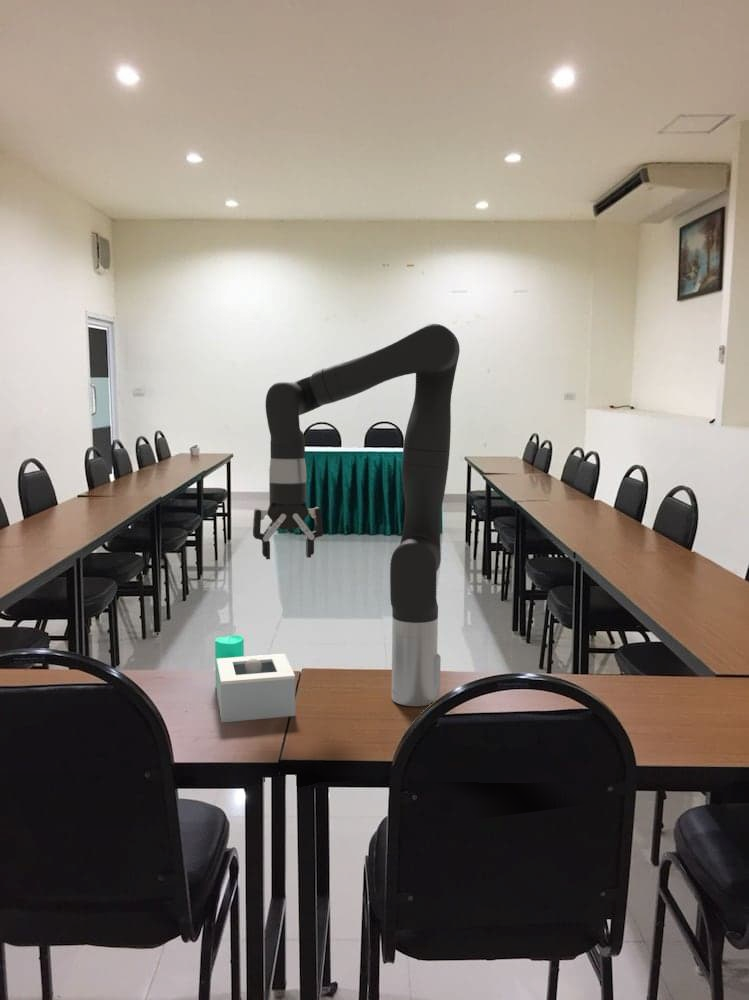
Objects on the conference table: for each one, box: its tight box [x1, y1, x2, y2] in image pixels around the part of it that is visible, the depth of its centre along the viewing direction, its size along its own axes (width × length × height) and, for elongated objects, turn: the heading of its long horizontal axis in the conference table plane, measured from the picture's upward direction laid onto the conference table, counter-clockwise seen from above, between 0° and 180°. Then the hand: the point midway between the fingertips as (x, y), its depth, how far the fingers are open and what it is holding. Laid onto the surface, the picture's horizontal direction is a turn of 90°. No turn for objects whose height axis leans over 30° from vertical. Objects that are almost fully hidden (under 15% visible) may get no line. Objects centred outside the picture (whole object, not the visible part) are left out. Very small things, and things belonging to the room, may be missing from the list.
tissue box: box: [216, 653, 296, 723], centre depth 154 cm, size 14×14×8 cm
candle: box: [214, 631, 245, 689], centre depth 164 cm, size 6×6×12 cm
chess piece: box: [245, 659, 262, 674], centre depth 154 cm, size 5×5×9 cm
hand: (288, 557), depth 161 cm, fingers open, 8 cm apart
